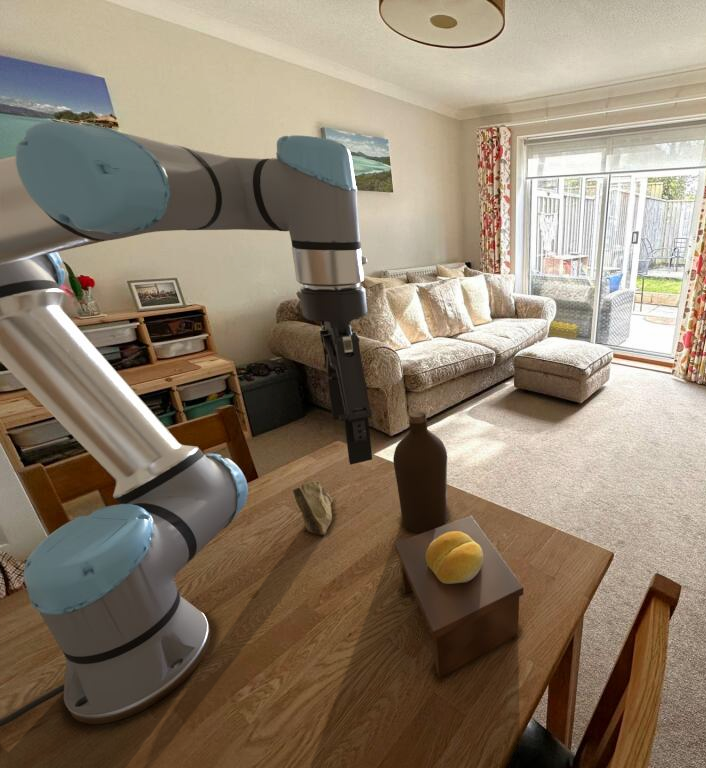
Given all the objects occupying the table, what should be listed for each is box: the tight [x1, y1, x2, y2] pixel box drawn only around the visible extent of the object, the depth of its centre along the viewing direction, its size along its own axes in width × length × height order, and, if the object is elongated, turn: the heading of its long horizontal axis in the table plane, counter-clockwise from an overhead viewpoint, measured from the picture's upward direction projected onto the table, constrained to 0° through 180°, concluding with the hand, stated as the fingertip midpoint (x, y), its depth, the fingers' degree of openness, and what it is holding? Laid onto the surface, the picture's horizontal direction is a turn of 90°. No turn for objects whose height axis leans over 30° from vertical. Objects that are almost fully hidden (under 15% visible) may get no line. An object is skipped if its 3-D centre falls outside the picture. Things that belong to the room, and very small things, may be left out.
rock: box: [292, 480, 333, 536], centre depth 86 cm, size 11×9×10 cm
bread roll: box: [426, 531, 483, 584], centre depth 62 cm, size 8×9×4 cm
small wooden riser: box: [394, 515, 524, 679], centre depth 65 cm, size 14×18×10 cm
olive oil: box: [392, 410, 448, 533], centre depth 83 cm, size 11×11×25 cm
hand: (350, 437), depth 57 cm, fingers open, 13 cm apart
